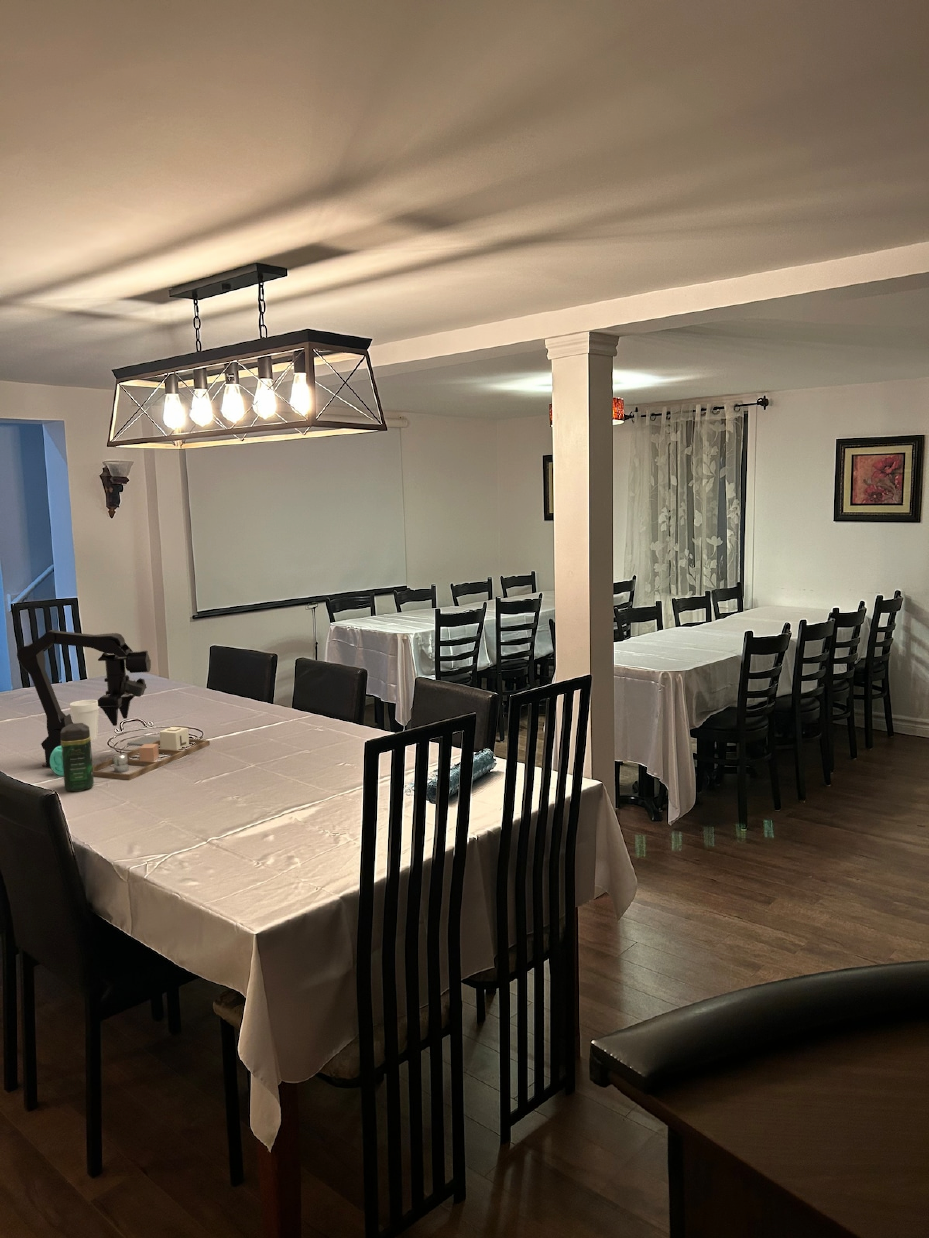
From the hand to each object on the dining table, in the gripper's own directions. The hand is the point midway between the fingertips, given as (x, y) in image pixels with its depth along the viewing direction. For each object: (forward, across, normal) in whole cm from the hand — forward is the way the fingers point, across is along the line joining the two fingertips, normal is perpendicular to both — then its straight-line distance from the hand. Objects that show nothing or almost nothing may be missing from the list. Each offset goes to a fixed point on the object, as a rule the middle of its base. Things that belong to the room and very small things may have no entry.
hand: (120, 721), depth 286 cm
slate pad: (+13, +23, 0) cm, 26 cm away
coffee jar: (+13, -25, +4) cm, 29 cm away
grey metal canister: (+13, -11, -3) cm, 17 cm away
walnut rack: (+13, +1, -8) cm, 15 cm away
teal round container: (+13, -10, +13) cm, 21 cm away
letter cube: (+13, +13, -13) cm, 22 cm away
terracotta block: (+13, +1, -8) cm, 15 cm away
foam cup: (+13, +30, +23) cm, 40 cm away
